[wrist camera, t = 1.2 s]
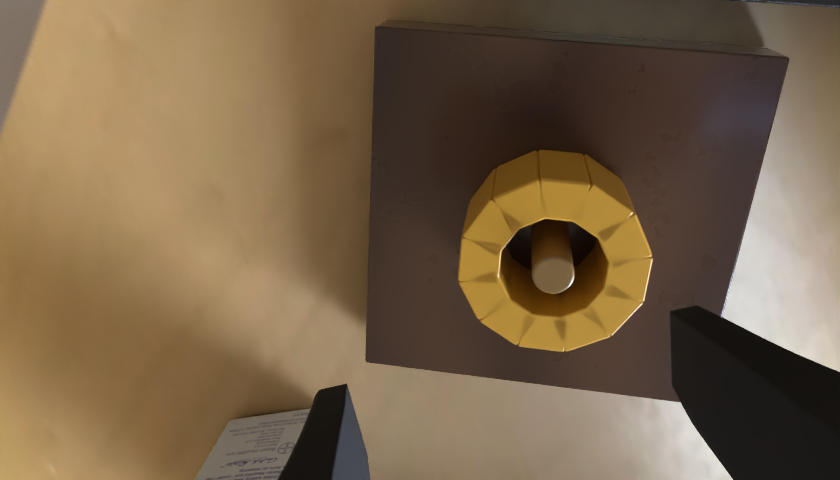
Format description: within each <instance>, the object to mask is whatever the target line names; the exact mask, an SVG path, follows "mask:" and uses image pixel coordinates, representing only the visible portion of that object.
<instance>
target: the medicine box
mask: <svg viewBox="0 0 840 480" xmlns="http://www.w3.org/2000/svg"><path fill="white" fill-rule="evenodd" d="M310 409H311V408H310ZM310 409H303V410H296V411H289V412H283V413H275V414H268V415H261V416H254V417H247V418H240V419H233V420H230V421H229V422H228V424H227V425H226V427H225V429H224V430H223V432H222V434H221V435H220V437H219V439H218V441H217V442H216V444H215V446H214V448H213V449H212V451H211V453H210V454H209V456H208V457H207V459H206V461H205V463H204V464H203V466H202V468H201V469H200V471H199V473H198V475H197V476H196V478H195V480H277V479H278V478H279V476H280V474H281V472H282V470H283V469H284V467H285V465H286V463H287V461H288V459H289V457H290V455H291V453H292V450H293V448H294V446H295V444H296V442H297V440H298V438H299V436H300V433H301V431H302V429H303V426H304V424H305V422H306V419H307V417H308V414H309V412H310Z"/></svg>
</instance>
